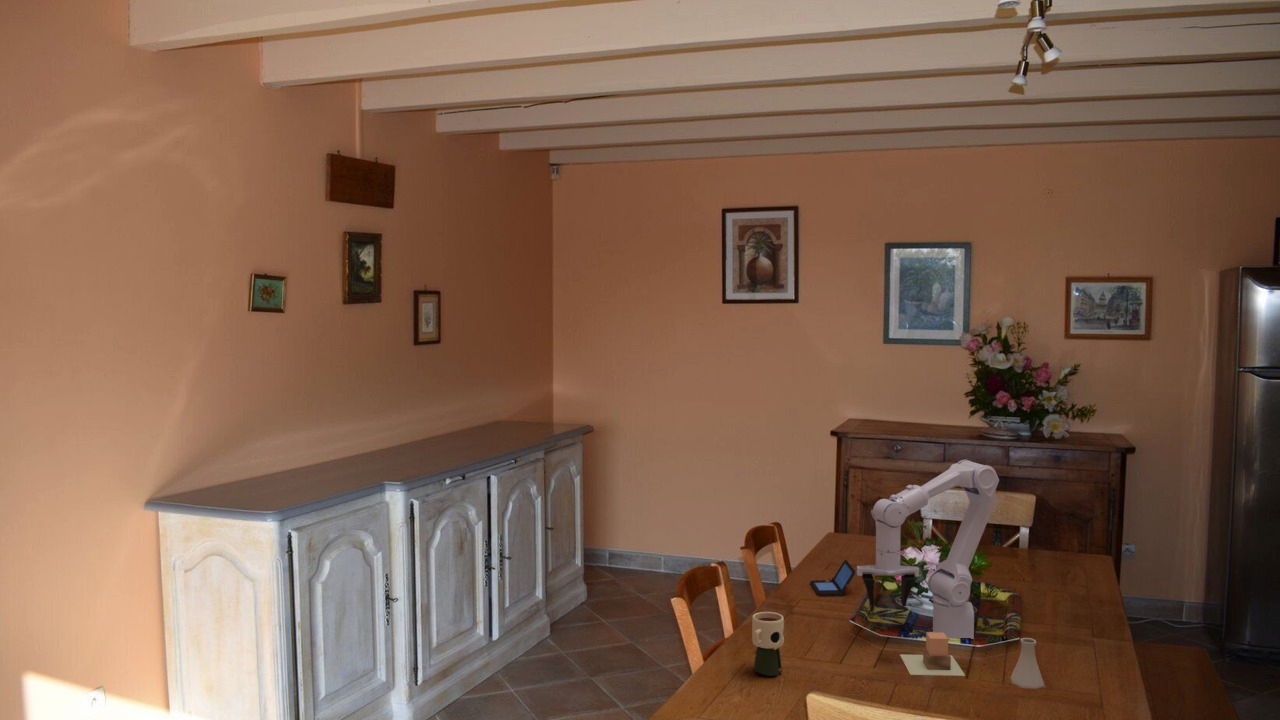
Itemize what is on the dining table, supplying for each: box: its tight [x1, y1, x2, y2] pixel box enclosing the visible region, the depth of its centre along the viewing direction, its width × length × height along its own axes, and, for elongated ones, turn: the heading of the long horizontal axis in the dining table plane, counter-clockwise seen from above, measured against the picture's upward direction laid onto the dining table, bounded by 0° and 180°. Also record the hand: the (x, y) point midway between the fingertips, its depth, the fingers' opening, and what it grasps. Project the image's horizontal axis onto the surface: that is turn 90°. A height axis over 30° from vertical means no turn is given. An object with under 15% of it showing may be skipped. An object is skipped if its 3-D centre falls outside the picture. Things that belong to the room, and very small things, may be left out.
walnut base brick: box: [922, 648, 951, 670], centre depth 223 cm, size 5×5×3 cm
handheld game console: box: [809, 559, 856, 598], centre depth 282 cm, size 12×11×7 cm
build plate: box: [899, 654, 966, 677], centre depth 224 cm, size 12×12×1 cm
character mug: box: [751, 611, 785, 677], centre depth 221 cm, size 11×7×13 cm, turn 143°
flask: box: [1010, 637, 1046, 690], centre depth 214 cm, size 7×7×10 cm
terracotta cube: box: [925, 631, 949, 656], centre depth 223 cm, size 4×4×4 cm
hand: (887, 604), depth 238 cm, fingers open, 7 cm apart
